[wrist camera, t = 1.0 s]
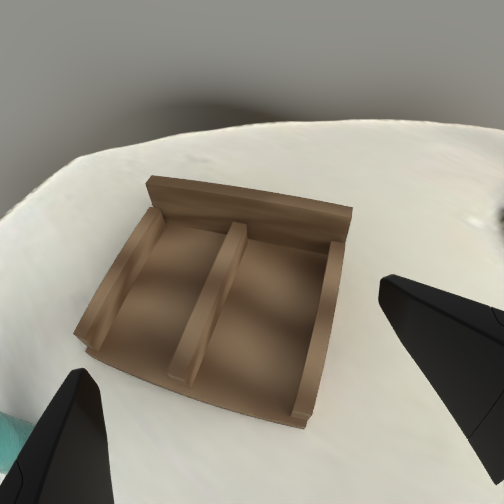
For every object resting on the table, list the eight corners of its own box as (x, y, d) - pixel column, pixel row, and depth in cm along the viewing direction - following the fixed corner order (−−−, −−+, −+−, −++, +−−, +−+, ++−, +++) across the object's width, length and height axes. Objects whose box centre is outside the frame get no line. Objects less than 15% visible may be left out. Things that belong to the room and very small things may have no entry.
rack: (303, 429, 20) (315, 415, 15) (91, 357, 24) (53, 324, 19) (340, 255, 29) (352, 207, 25) (166, 221, 33) (151, 175, 28)
